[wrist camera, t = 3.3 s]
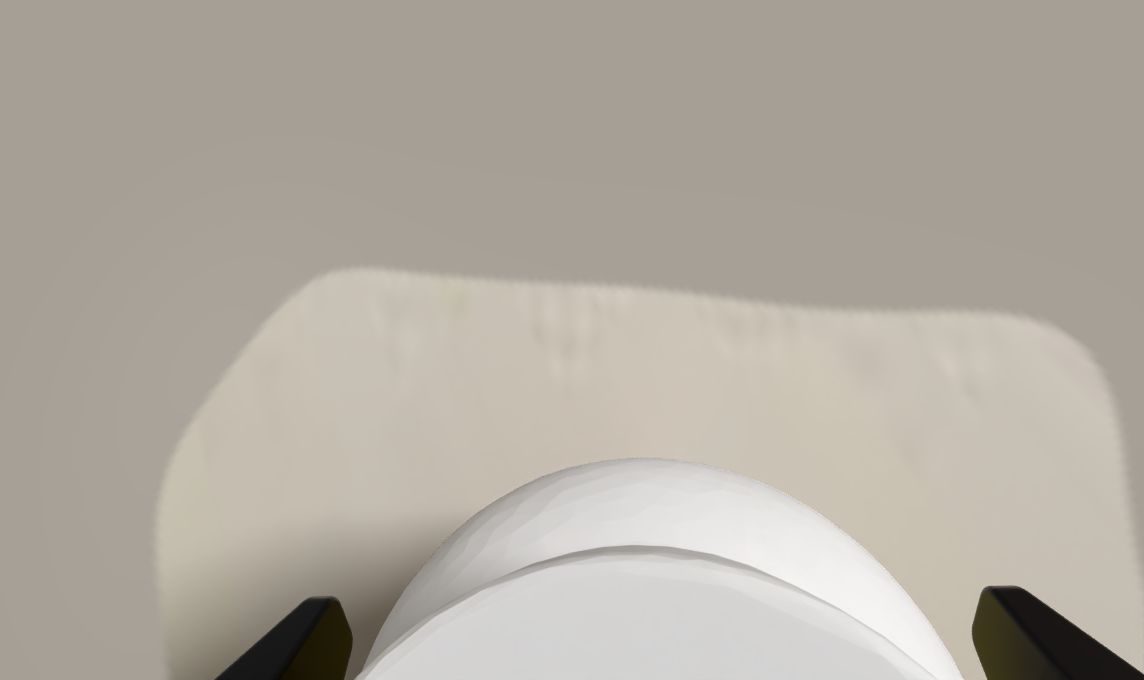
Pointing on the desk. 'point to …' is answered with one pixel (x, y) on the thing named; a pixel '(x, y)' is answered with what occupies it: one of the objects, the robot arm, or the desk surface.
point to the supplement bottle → (654, 588)
